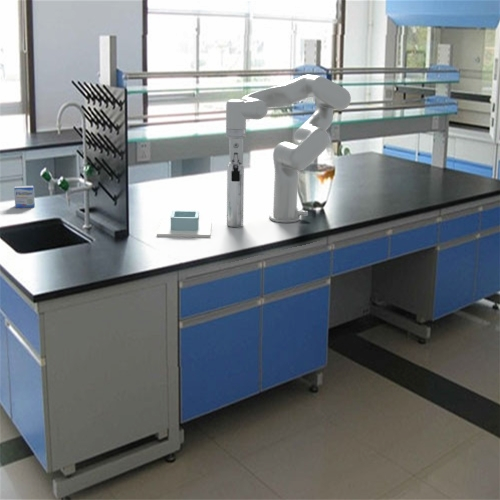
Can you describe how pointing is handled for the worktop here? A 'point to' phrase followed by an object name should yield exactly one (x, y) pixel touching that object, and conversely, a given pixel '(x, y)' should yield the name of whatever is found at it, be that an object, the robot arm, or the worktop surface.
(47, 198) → the worktop surface
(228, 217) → the white cylinder
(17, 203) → the medicine box
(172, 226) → the holder
